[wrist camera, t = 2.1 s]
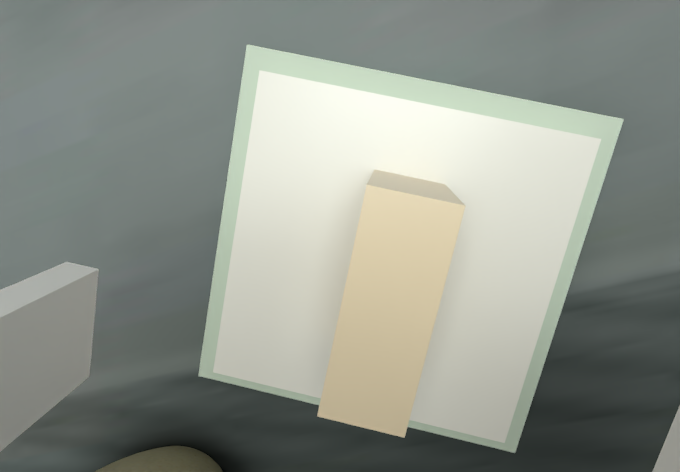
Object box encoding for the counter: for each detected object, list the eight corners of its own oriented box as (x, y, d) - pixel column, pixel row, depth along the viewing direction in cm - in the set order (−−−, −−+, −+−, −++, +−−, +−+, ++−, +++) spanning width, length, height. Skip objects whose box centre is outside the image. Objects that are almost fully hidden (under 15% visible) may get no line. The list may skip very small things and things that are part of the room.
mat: (618, 119, 20) (623, 119, 20) (512, 446, 24) (515, 453, 24) (250, 46, 21) (247, 44, 21) (202, 371, 25) (198, 375, 25)
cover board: (591, 138, 20) (690, 142, 13) (500, 430, 23) (543, 552, 17) (265, 72, 21) (204, 45, 14) (220, 362, 24) (152, 452, 18)
